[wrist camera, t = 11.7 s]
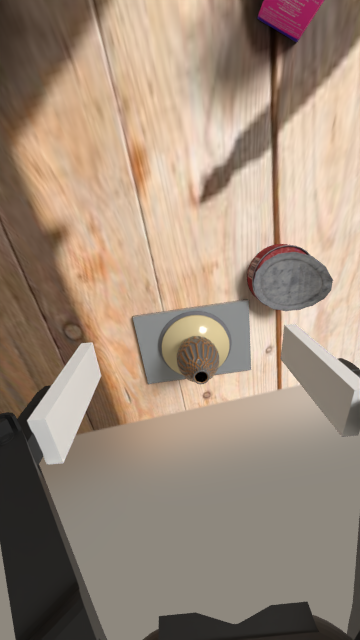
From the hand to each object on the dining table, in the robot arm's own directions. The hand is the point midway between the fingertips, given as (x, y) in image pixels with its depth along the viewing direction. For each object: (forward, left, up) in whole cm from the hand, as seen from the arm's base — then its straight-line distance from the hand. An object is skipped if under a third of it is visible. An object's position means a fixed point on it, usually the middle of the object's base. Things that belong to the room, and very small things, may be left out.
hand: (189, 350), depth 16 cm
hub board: (+12, +1, -24) cm, 27 cm away
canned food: (+2, +16, -25) cm, 30 cm away
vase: (+12, +1, -23) cm, 26 cm away
